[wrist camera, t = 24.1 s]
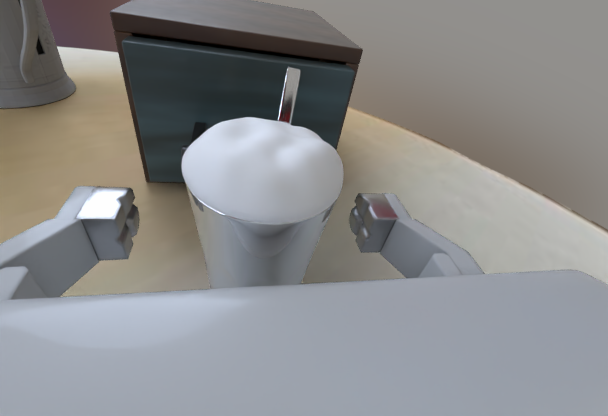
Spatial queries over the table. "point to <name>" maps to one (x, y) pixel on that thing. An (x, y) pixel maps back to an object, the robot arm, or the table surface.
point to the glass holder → (29, 57)
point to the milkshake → (261, 196)
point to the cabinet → (232, 33)
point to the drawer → (222, 94)
